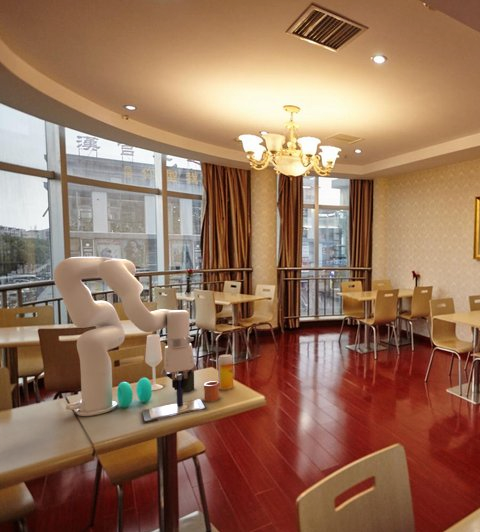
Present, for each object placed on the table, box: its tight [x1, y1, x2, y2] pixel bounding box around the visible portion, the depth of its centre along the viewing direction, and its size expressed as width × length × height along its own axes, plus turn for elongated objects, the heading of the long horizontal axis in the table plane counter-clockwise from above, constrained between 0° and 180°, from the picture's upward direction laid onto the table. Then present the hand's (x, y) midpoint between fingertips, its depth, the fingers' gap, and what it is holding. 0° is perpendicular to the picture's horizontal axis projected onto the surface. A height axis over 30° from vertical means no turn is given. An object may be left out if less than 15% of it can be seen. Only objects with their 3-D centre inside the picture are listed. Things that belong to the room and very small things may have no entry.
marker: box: [175, 373, 184, 407], centre depth 153 cm, size 2×2×12 cm
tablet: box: [142, 398, 206, 424], centre depth 151 cm, size 20×12×1 cm, turn 127°
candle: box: [177, 370, 195, 394], centre depth 171 cm, size 5×5×25 cm
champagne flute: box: [144, 333, 164, 391], centre depth 176 cm, size 7×7×24 cm
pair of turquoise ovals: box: [116, 377, 153, 409], centre depth 157 cm, size 10×10×10 cm
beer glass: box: [217, 353, 234, 391], centre depth 176 cm, size 6×6×15 cm
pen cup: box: [203, 380, 220, 402], centre depth 162 cm, size 5×5×7 cm
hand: (179, 388), depth 153 cm, fingers closed on marker, 2 cm apart
